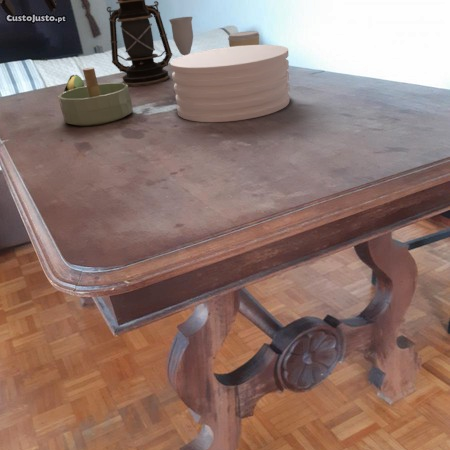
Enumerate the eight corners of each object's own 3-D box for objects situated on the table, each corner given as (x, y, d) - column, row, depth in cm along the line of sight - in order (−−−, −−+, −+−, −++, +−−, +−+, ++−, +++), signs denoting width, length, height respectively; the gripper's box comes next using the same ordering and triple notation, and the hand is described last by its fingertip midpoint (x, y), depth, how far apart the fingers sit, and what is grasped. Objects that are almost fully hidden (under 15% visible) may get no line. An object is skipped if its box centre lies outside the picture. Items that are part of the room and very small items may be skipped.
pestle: (87, 119, 121) (75, 72, 114) (89, 113, 125) (78, 68, 119) (109, 115, 121) (98, 68, 115) (110, 110, 125) (100, 65, 119)
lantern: (114, 89, 153) (89, -23, 136) (118, 80, 166) (96, -23, 148) (176, 81, 153) (159, -31, 136) (175, 73, 166) (160, -31, 149)
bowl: (61, 131, 116) (53, 103, 112) (69, 114, 130) (62, 88, 126) (133, 120, 117) (127, 92, 113) (133, 104, 131) (128, 79, 127)
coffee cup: (236, 74, 152) (233, 32, 145) (264, 73, 149) (262, 30, 142) (227, 81, 145) (223, 36, 138) (257, 79, 142) (254, 34, 135)
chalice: (177, 86, 147) (167, 19, 136) (199, 82, 147) (191, 16, 137) (180, 90, 141) (170, 20, 130) (202, 87, 141) (194, 17, 131)
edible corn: (86, 87, 161) (82, 72, 159) (80, 99, 145) (76, 83, 142) (71, 89, 161) (67, 74, 158) (64, 102, 145) (59, 86, 142)
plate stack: (200, 94, 133) (194, 49, 127) (299, 90, 125) (298, 41, 118) (159, 123, 112) (150, 70, 105) (275, 121, 103) (273, 63, 97)
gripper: (28, -86, 81) (66, -10, 97) (-51, -76, 82) (0, -2, 98) (27, -49, 80) (66, 22, 96) (-53, -39, 81) (-1, 30, 97)
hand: (33, 10), depth 97 cm, fingers open, 8 cm apart
